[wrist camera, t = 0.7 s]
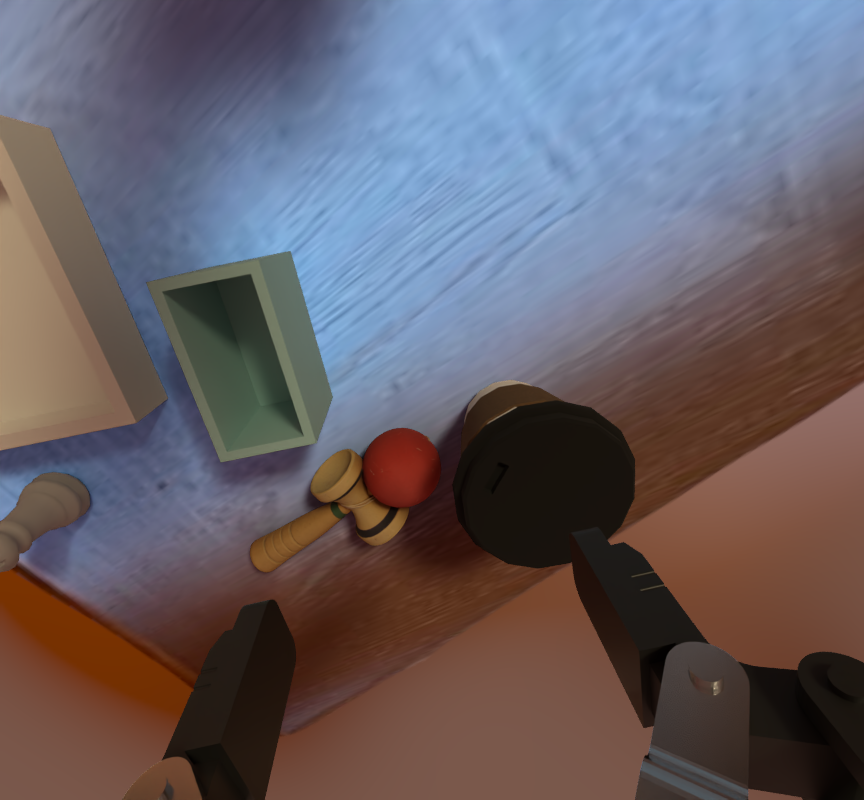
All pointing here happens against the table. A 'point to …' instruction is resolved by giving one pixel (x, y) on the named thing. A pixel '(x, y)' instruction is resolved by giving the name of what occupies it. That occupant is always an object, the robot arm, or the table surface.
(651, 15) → the table surface
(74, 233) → the beige tray
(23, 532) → the rook chess piece
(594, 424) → the coffee cup
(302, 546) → the kendama
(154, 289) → the teal tote
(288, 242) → the table surface
